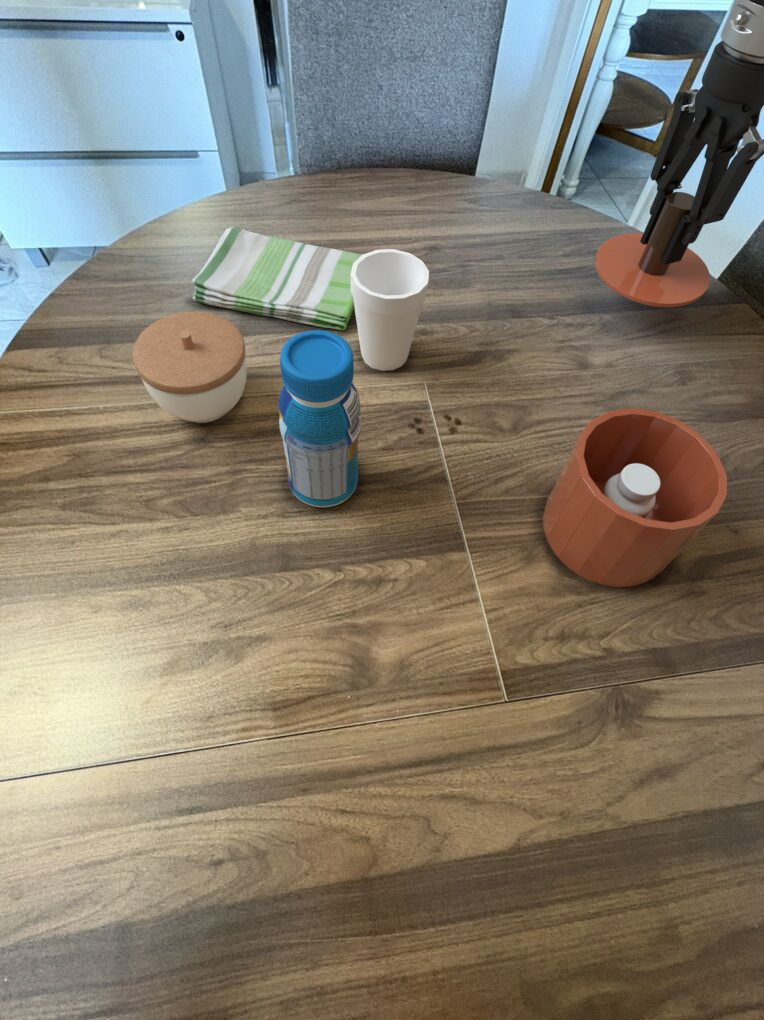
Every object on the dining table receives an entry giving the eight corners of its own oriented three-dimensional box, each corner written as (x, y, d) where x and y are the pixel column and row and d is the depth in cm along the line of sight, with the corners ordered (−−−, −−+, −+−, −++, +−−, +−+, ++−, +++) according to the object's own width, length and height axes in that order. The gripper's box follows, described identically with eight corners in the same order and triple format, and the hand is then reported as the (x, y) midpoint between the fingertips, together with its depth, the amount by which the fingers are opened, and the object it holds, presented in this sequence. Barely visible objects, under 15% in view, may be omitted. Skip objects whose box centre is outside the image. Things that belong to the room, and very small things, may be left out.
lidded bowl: (187, 355, 82) (166, 285, 73) (271, 383, 80) (261, 315, 71) (133, 420, 76) (103, 353, 67) (223, 453, 74) (205, 388, 65)
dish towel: (231, 236, 97) (227, 215, 94) (373, 261, 95) (374, 240, 92) (190, 306, 88) (185, 285, 85) (347, 335, 86) (347, 315, 83)
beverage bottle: (310, 522, 69) (298, 400, 52) (274, 471, 73) (253, 341, 56) (372, 490, 72) (381, 365, 55) (335, 442, 76) (332, 310, 59)
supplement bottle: (578, 536, 69) (608, 488, 61) (589, 500, 72) (619, 450, 64) (625, 554, 68) (662, 508, 60) (634, 517, 71) (671, 468, 63)
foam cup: (395, 389, 81) (403, 309, 70) (337, 361, 83) (335, 279, 72) (430, 348, 85) (442, 266, 75) (374, 322, 88) (378, 239, 77)
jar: (621, 463, 76) (665, 393, 66) (696, 562, 69) (759, 501, 58) (519, 498, 72) (548, 430, 62) (587, 606, 65) (634, 550, 55)
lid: (660, 231, 92) (693, 158, 83) (729, 295, 84) (774, 222, 75) (572, 253, 88) (596, 179, 79) (636, 322, 80) (671, 249, 71)
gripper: (674, 20, 67) (601, 221, 86) (784, 90, 58) (676, 295, 78) (728, 12, 68) (645, 211, 88) (843, 79, 60) (723, 282, 80)
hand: (660, 250), depth 83 cm, fingers closed on lid, 4 cm apart
